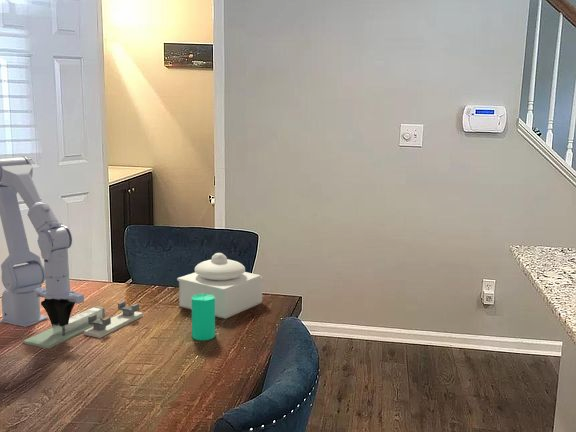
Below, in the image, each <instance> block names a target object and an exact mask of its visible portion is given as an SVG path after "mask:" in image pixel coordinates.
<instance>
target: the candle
mask: <svg viewBox="0 0 576 432" xmlns="http://www.w3.org/2000/svg"><path fill="white" fill-rule="evenodd" d="M215 336H216V316H215V297H214V296H213V295H206V294H204V291H203V294H197V295H194V296H192V310H191V338H193V339H194V340H197V341H209V340H212V339H214V338H215Z"/></svg>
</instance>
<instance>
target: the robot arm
mask: <svg viewBox="0 0 576 432" xmlns="http://www.w3.org/2000/svg"><path fill="white" fill-rule="evenodd" d="M33 172H34V170H33V166H32V163H31V160H29V158H28V157H27V156H19V157H17V156H16V157H4V158H3V157H2V158H0V221H1V226H2V229H3V230H2V231H3V234H4V238H5V242H6V246H7V251H8V254H9V255H8V256H7V257H6V258H5V259H4V260H3V262H2V263H1V264H0V268H1V269H0V271H1V283H2V286H3V287H4V288H5V289H4V290H3V292H2V295H1V312H2V313H1V314H2V319H0V322H1V323H5V324H9V325H15V326H20V327H24V328H27V327H29V326H32V325H35V324H37V323H40V322H42V321H44V320H47V319H49V321H50V324H51V328H53V324H55V323H58V322H59V325H60V326H63V325H66V324H68V323H69V318H70V317H71V314H72V311H73V308H74V306H75V305H76V304H78V305H80V304H82V303H84V302H85V294H84V293H83V294H82V293H79V292H76V291H74V290H72V289H71V281H70V280H71V279H70V268H69V267H70V266H69V264H70V263H69V262H70V261H69V252H68V251H69V249H70V248H71V246H72V244H73V236H72V233H71V230H70V228H69V227H68V226H66V225H64V223H61V222H59V220H58V219H57V217H56V215H55V213H54V212H53V210H52V208H51V206H50V205H49V204H48V203H45V202H43V201H42V199H41V196H40V194H39V191H38V190H37V187H36V185H35V183H34V180H33V175H34V174H33ZM17 193H18V194H19V196H20V198H21V200H22V201H23V202H24V204H25V205H26V206H27V208H28V212H27V217H28V219H29V221H30V223H31V224H32V226H33V228H34V229H35V232H36V234H37V235H38V236H37V237H38V238H37V246H38V248H39V250H40V255H37V254H36V253H34V252H32V251H31V250H30V247H29V243H28V239H27V234H26V230H25V226H24V222H23V217H22V213H21V207H20V205H19V204H20V203H19V199H18V196H17ZM40 256H41V257H40ZM41 258H42V259H43V263H42V260H41ZM43 264H44V265H43ZM44 283H45V288H43V287H42V285H43V284H44ZM41 298H44V300H42V301H41V300H40V299H41ZM41 307H43V310H44V311H45V312H46V314H47V315H44V314H42V313H41Z"/></svg>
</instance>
